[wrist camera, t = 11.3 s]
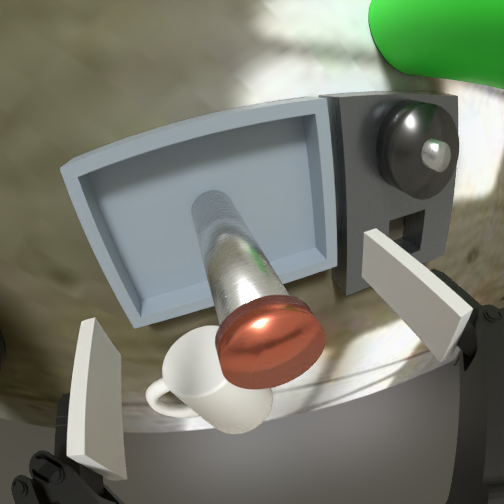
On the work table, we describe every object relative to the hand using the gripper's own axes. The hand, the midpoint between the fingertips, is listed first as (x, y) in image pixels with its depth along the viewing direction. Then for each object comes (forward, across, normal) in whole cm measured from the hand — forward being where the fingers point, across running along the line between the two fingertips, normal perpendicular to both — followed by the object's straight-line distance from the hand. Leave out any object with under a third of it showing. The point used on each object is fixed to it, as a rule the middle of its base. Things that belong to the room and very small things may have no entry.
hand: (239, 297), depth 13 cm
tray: (+11, +1, 0) cm, 11 cm away
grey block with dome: (+11, +18, -2) cm, 21 cm away
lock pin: (+10, +1, 0) cm, 11 cm away
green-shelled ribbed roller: (+11, +21, +13) cm, 27 cm away
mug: (+12, -5, -17) cm, 21 cm away
